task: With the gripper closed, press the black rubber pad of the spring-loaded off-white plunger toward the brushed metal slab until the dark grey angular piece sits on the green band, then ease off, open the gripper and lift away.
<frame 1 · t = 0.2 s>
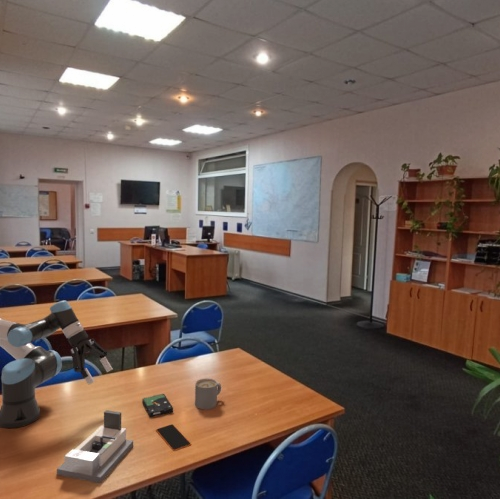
hand: (101, 376, 168), 16 cm above the table, tool tilted 35°, fingers open, 13 cm apart
coffee mug: (209, 403, 181), on the table
smartphone: (173, 438, 153), on the table
dark grey angular piece: (104, 442, 140), point 5 cm above the table, slide at 0.0 cm
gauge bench: (98, 458, 139), on the table
plunger: (108, 428, 144), point 7 cm above the table, slide at 0.0 cm
brushed metal slab: (82, 474, 130), resting on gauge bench
disk drive: (157, 408, 176), on the table
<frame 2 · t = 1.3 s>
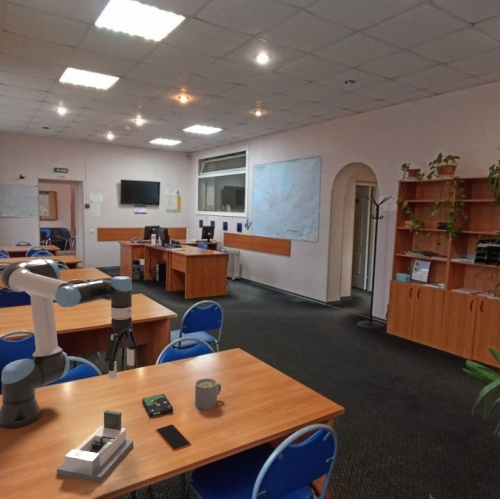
hand: (122, 371, 152), 25 cm above the table, tool pointing down, fingers open, 12 cm apart
nothing on the table moved.
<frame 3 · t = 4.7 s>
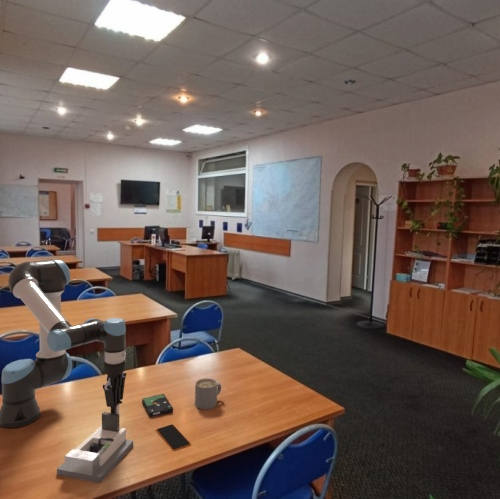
hand: (115, 421, 148), 8 cm above the table, tool pointing down, fingers closed
dark grey angular piece: (102, 444, 139), point 5 cm above the table, slide at 1.1 cm, touching plunger
plunger: (106, 430, 143), point 7 cm above the table, slide at 1.3 cm, touching gripper, dark grey angular piece
everything else where it was.
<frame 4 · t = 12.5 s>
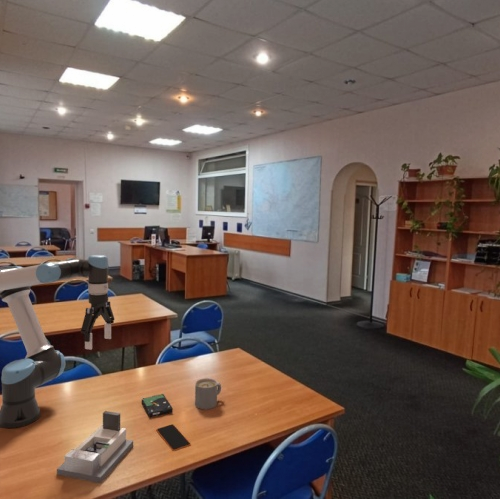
hand: (98, 343, 163), 32 cm above the table, tool pointing down, fingers open, 13 cm apart
dark grey angular piece: (98, 448, 136), point 5 cm above the table, slide at 3.8 cm
plunger: (107, 429, 143), point 7 cm above the table, slide at 0.7 cm
everything else where it was.
at the end: dark grey angular piece slide at 3.8 cm; plunger slide at 0.7 cm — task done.
